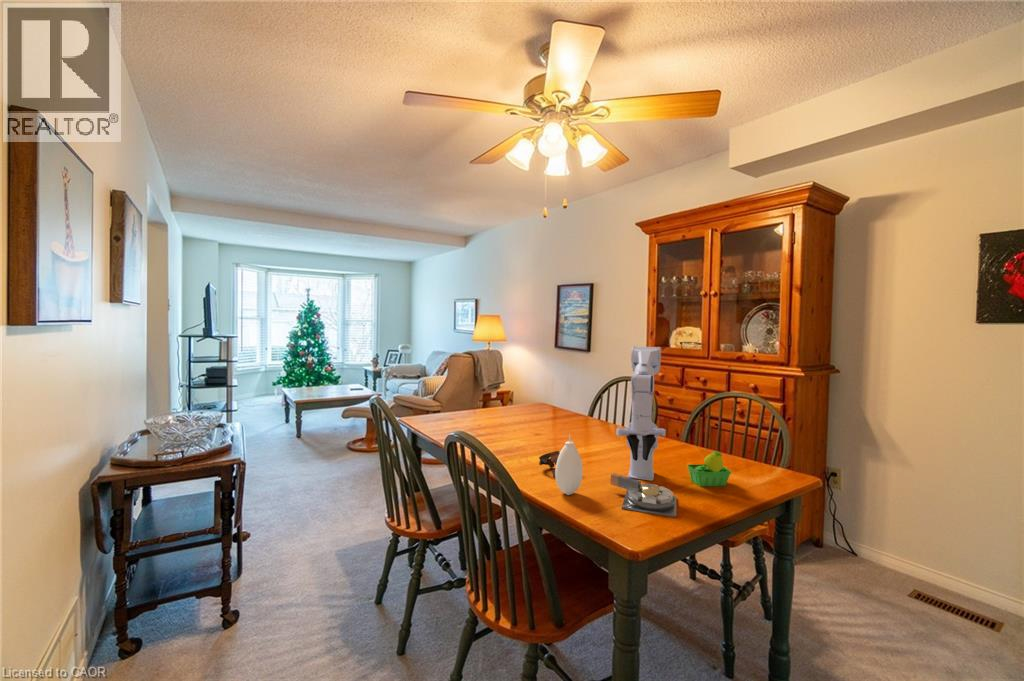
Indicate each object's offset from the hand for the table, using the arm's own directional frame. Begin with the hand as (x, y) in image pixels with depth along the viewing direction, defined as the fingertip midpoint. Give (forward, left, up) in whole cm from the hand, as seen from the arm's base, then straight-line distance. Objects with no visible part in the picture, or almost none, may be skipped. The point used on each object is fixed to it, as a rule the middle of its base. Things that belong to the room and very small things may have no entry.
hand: (639, 459), depth 136 cm
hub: (+8, +4, -10) cm, 13 cm away
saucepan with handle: (+8, +1, -8) cm, 11 cm away
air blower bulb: (+10, -19, -10) cm, 24 cm away
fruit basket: (-16, +21, -10) cm, 28 cm away
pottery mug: (-8, -27, -10) cm, 30 cm away
